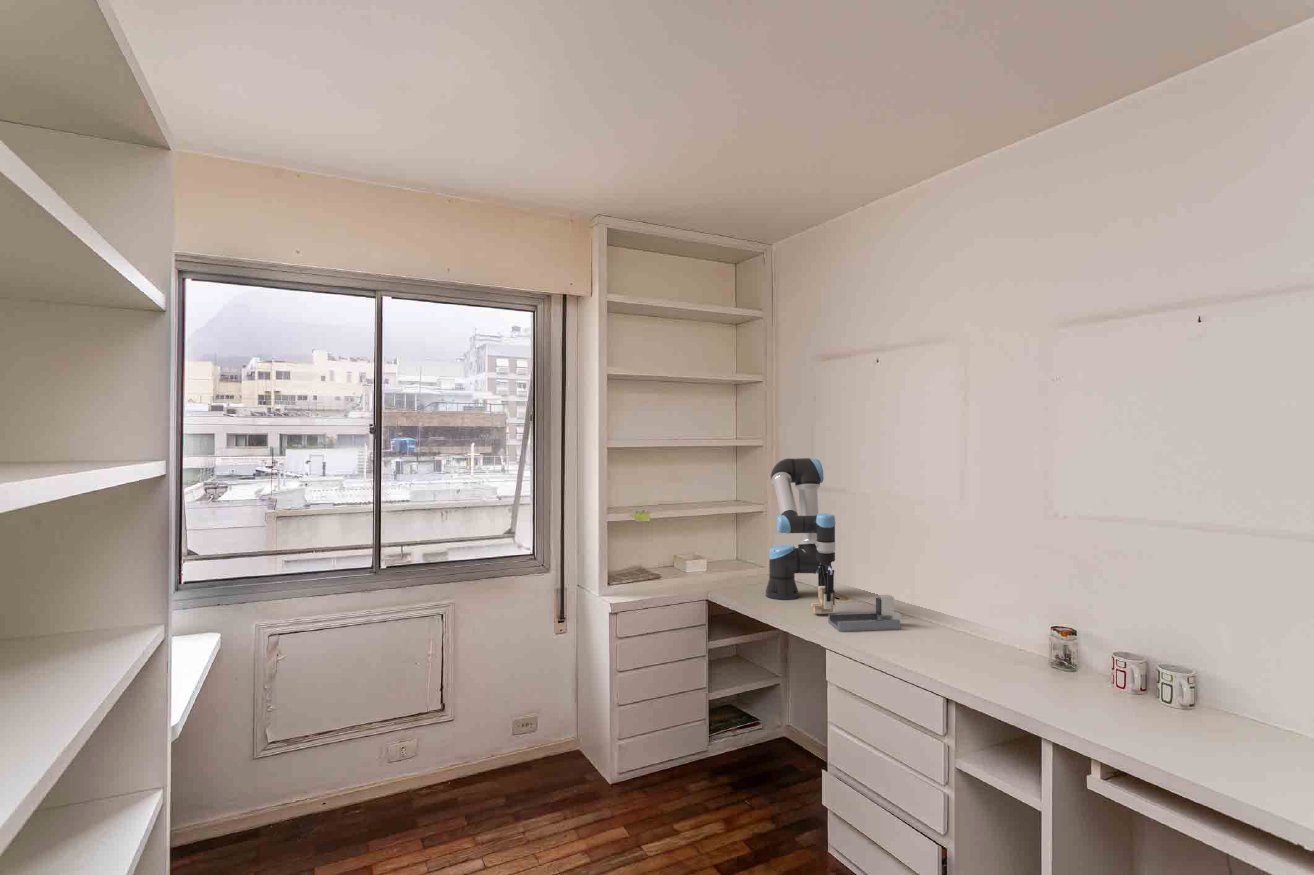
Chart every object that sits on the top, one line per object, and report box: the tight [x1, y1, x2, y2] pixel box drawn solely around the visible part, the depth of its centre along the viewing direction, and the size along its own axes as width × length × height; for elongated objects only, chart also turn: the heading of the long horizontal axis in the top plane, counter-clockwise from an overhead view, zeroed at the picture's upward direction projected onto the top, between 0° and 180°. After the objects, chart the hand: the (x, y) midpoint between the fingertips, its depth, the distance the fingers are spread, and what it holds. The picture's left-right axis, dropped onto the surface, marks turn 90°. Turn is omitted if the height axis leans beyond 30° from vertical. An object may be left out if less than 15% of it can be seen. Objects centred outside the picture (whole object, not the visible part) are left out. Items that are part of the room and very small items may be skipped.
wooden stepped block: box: [810, 585, 836, 614], centre depth 279 cm, size 4×9×10 cm, turn 95°
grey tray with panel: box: [827, 594, 902, 633], centre depth 262 cm, size 12×26×12 cm, turn 95°
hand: (825, 607), depth 279 cm, fingers closed on wooden stepped block, 4 cm apart
